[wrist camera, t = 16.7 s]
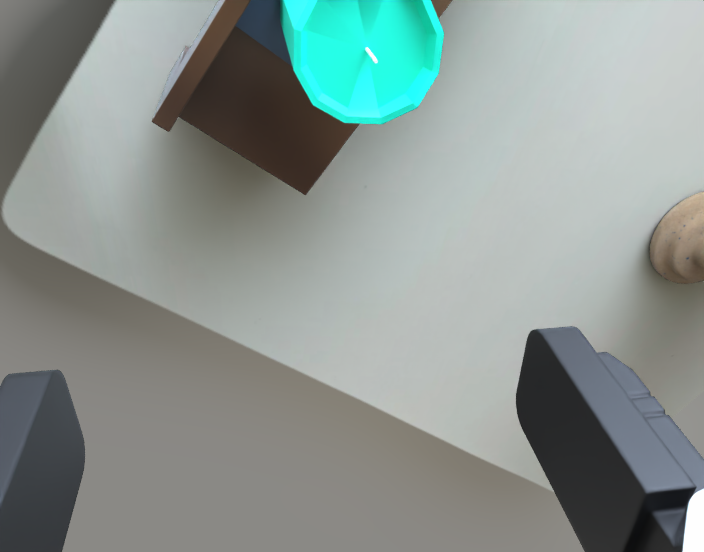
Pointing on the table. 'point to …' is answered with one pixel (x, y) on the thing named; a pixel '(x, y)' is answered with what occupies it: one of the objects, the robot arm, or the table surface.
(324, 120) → the shelf
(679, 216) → the candle holder
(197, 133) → the table surface
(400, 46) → the candle
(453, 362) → the table surface
